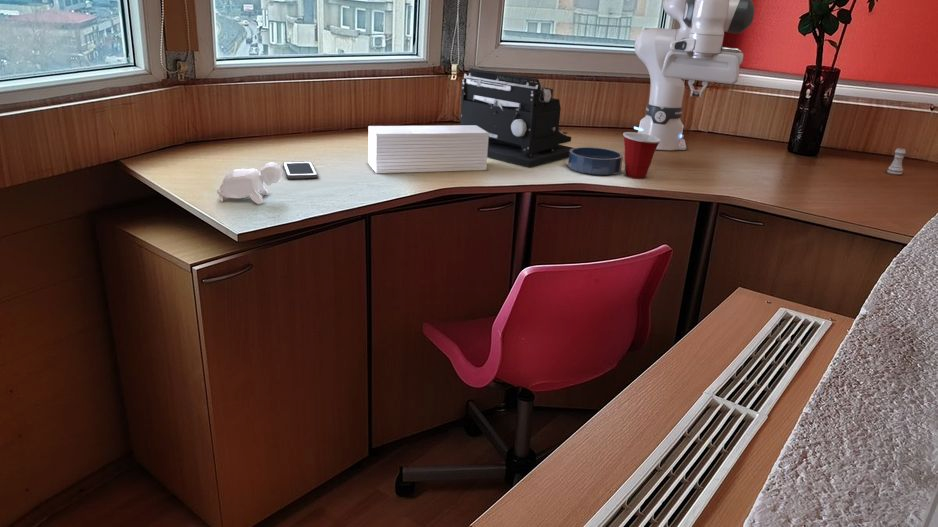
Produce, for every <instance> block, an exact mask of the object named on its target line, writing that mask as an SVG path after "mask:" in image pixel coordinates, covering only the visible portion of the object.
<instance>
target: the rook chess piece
mask: <svg viewBox="0 0 938 527" xmlns="http://www.w3.org/2000/svg"><path fill="white" fill-rule="evenodd" d="M894 153H895V154H894V155H893V161H892V162H891V164H890V166H888V167H887V170H886V173H887V174H890V175H893V176H901V175H902V174H903V171H904V169H903V160H904V158H905V157H904V156H905V155H906V154H907V152H906V149H905V148H898V147H896V149H895V150H894Z"/></svg>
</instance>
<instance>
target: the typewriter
mask: <svg viewBox="0 0 938 527" xmlns="http://www.w3.org/2000/svg"><path fill="white" fill-rule="evenodd" d="M468 71H469V73H468V75H467V73H464V74H463V77H461V97H460V99H461V100H460V118H459V123H460V124H459V125H477V126H478V127H480V128H482V129H483V130H485V131H487V132H488V133H489V136H488V137H489V139H488V146H487V147H488V153H487V159H488V158H489V159H493V160H497V161H500V162H505V163H508V164H513V165H516V166H520V167H525V168H534V167H537V166H542V165H546V164H549V163H553V162H557V161H560V160H565V159H569V150H570V149H573V148H574V147H572V146H568V145H563V144H566V143H570V142H572V136H569V135H568V131H562V127H561V126H560V121H561V120H560V119H561V111H562V110H561V109H562V108H561V101H560V99H559V98H554V97H553V96H554V95H553V94H554V89H553V88H549V87H545V86H541V84H542V80H539V79H538V78H534V77H528V76H522V75H515V74H509V73H503V72H496V71H489V70H483V69H477V68H471V67H469V68H468ZM561 131H562V133H561Z"/></svg>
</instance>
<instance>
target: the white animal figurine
mask: <svg viewBox="0 0 938 527" xmlns="http://www.w3.org/2000/svg"><path fill="white" fill-rule="evenodd" d="M283 176H284V170H283V169H282V166H281V165H280V164H279V163H277V162H272V161H271V162H267V163H266V164H264V165H263V166H262V167H261V168H260V171H259V170H258V169H255V168H236V169H233V170H231V171H229V172H228V173H227V174H226V175H225V176H224V178H223V179H222V182H221V185H220V186H219V188H218V189H217V190H216V193H217V195H218V197H219V200H220V202H224V198H226V199H247V198H250V199H251V200H252V201H253V203H255V204H256V205H262V204H263V202H264V198H263V197H262V195H264V196H266V195H268V192H269V191H268V189H267V188H266V187H265V186H264V184H265V185H266V186H271V185H275V184H278V183H279V182H280V181H281V180H282V178H283Z"/></svg>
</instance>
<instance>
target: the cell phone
mask: <svg viewBox="0 0 938 527" xmlns="http://www.w3.org/2000/svg"><path fill="white" fill-rule="evenodd" d="M282 166H283V169H284V170H283V171H284V172H285V175H286V178H287V179H292V180H293V179H294V180H295V179H317V178H318V172H317V169H316V167H315V166H314V164H313V162H312V161H310V160H305V161H283V162H282Z"/></svg>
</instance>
